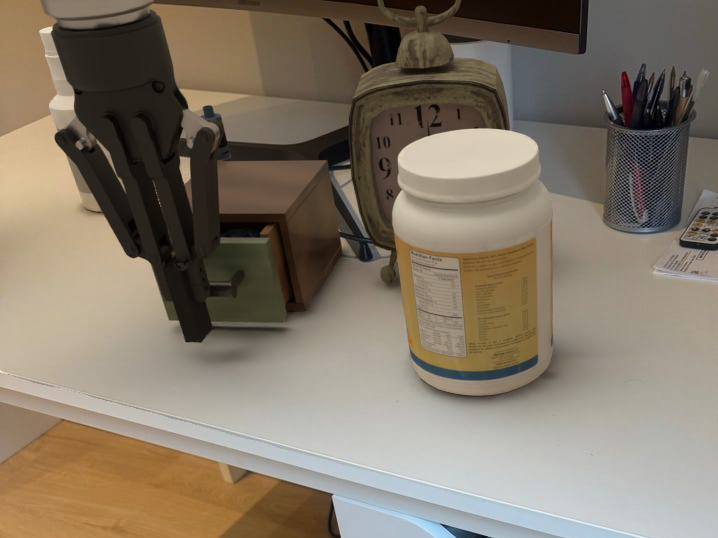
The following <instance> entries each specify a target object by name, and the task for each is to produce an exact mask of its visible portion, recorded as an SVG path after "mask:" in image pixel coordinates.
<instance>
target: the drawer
mask: <svg viewBox="0 0 718 538" xmlns="http://www.w3.org/2000/svg"><path fill="white" fill-rule="evenodd" d="M236 228H253V229H256V230H258V231H259V232H260V238H220V244H219V246H218V247H217V248H216V249H215V250H214V251H213V253H212V254H211V255H210V256H209V257H208V258H206V259H203V263H204V267H205V270H206V274H207V278H208V281H209V285H210V288H211V290H210V295H209V296H208V298H207V299H206V300H205V302H206V305H207V309H208V312H209V316H210V319H211V322H214V323H215V322H216V323H217V322H219V323H220V322H221V323H222V322H226V323H267V324H269V323H270V324H271V323H274V324H283V323H285V322H286V320H287V319H288V313H287V312H288V311H286V308H285V305H286V304H287V302H288V301H289V299H290V298H291V296H292V295H293V293H294V291H293V286H292V281H291V277H290V272H289V267H288V263H287V258H286V253H285V249H284V244H283V239H282V235H281V230H280V225H279V222H220V235H221V234H222V233H224V232H226V231H228V230H231V229H236ZM167 230H168V229H167ZM168 233H169V232H168ZM169 236H170V235H169ZM170 240H171V238H170ZM171 243H172V241H171ZM171 254H172V257H173V256H174V255H175V251H173V252H172V253H171ZM150 267H151V269H152V272H153V275H154V278H155V281H156V282H155V283H156V285H157V288H158V291H159V294H160V298H161V300H162V302H163V307H164V310H165V313H166V316H167V319H168V321H170V322H179V320H178V317H177V314H176V310H175V307H174V304H173V301H166V300H165V299H164V297H163V296H162V293H161V290H160V287H159V284H158V281H157V278H156V274H155V271H154V268H153V266H152V265H151V264H150Z"/></svg>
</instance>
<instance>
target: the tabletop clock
mask: <svg viewBox="0 0 718 538" xmlns="http://www.w3.org/2000/svg"><path fill="white" fill-rule="evenodd" d="M461 3H462V0H455V2H454V5H452V6H451V7H450V8H448V10H446V11H444V12H441V13H439V14H437V15H431V16H428V10H427V8H426V7H425V6H424V5H417V6H416V7H415V9H414V17H406V16H401V15H398V14H395V13H393V12H391V11H390V10H388V9H387V8H386V6H385V3H384V0H377V4H378V8H379V10H380V12H381V13H382V15H383V16H384V17H385V18H386V19H388V20H389V21H390V22H391V23H393V24H395V25H399V26H401V27H404V28H413V29H415V30H414V31H412V32H409V33H407V34H406V35H404V37H403V39H402V40H401V42H400V44H399V46H398V49H397V53H396V58H395V61H394V62H390V63H384V64H381V65H378V66H375V67H372V69H369V70H368V71H367V72H364V73H363V74H361V76H360V79H359V82H358V84H357V86H356V90H355V93H354V95H353V97H352V101H351V106H350V109H349V110H350V111H349V115H348V126H347V127H348V130H347V132H348V133H347V135H348V136H347V140H348V154H349V164H350V166H349V167H350V176H351V182H352V187H353V191H354V195H355V199H356V203H357V204H356V205H357V209H358V212H359V216H360V219H361V223H362V225H363V227H364V230H365V233H366V234H367V236H368V238H369V240H370V242H371V243H372V245H373V246H374V247H377V248H380V249H381V250H385V251H389V252H390V256H389V262H388V264H386V265H384V266H382V268H381V269H380V272H379V277H380V278H381V280H382V281H383V283H387V284H390V283H393V282H395V280H396V278H397V270H396V268H395V264H396V263H397V261H398V259H397V251H396V244H395V236H394V229H393V225H392V211H393V206H394V203H395V200H396V198H397V196H398V195H399V193H400V192H401V190H402V189H401V188H400V186H399V184H398V174H399V169H398V155H399V153H400V152H401V151H402V150H403V149H404V148H405V147H406V146H408V145H409V144H411V143H413V142H415V141H417V140H419V139H422V138H424V137H428V136H431V135H434V134H439V133H443V132H449V131H455V130H463V129H500V130H508V131H511V126H510V114H509V105H508V99H507V94H506V90H505V86H504V82H503V80H502V78H501V75H500V72H499V70H498V67H497V66H496V65H494V64H491V63H489V62H488V61H487V62H486V61H484V60H481V59H478V58H477V59H476V58H471V57H455V54H454V51H453V49H452V46H451V44H450V42H449V41H448V39H447V38H446V37H445V35H443V33H441V32H439V31H436V30H433V29H429V28H430V27H434V26H438V25H440V24H443V23H445V22H446V21H448V20H451V19H452V18H453V16H454V15H455V14H456V13H457V11H459V8H460V6H461Z"/></svg>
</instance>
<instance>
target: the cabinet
mask: <svg viewBox="0 0 718 538" xmlns="http://www.w3.org/2000/svg"><path fill="white" fill-rule="evenodd" d="M217 166H218V192H219V218H220V222H279V225H280V230H281V235H282V239H283V244H284V249H285V253H286V258H287V263H288V267H289V272H290V277H291V281H292V286H293V291H294V293H293V295H292V296H291V298H290V299H289V301H288V302H287V304H286V305H285V308H286V312H306V311H307V309H308V308H309V306H310V305H311V304H312V302H313V300H314V298H315V296H316V295H317V293H318V292H319V290H320V288H321V287H322V285H323V284H324V282H326V279H327V278H328V276H329V274H330V273H331V272H332V270H333V268H334V267H335V266H336V263H337V262H338V260H339V259H340V257H341V255H342V254H343V246H342V241H341V240H342V239H341V233H340V227H339V222H338V221H339V220H338V215H337V210H336V203H335V199H334V192H333V187H332V180H331V174H330V169H329V161H328V160H327V159H325V160H323V159H319V160H318V159H317V160H311V159H309V160H305V159H304V160H232V161H217ZM184 185H185V189H186V192H187V196H188V199H189V203H190V207H191V210H192V214H193V209H192V192H191V178H189V179H188V180H187V182H184ZM161 210H162V208H161ZM162 213H163V212H162ZM163 216H164V215H163ZM164 220H165V218H164ZM165 223H166V222H165ZM166 226H167V225H166ZM167 229H168V228H167Z"/></svg>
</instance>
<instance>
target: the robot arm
mask: <svg viewBox="0 0 718 538" xmlns="http://www.w3.org/2000/svg"><path fill="white" fill-rule="evenodd" d="M39 1H40V4H41V7H42V10H43V14H44V15H46V16H47V17H49V18H50V19H52V20H55V21H56V22H55V23H54V24H53V27H52V29H53V30H52V31H51V35H52V38H53V41H54V44H55V47H56V50H57V53H58V56H59V59H60V62H61V65H62V68H63V71H64V74H65V77H66V80H67V81H68V83H69V84H70V85H71V86H72V88H73V90H74V97H75V98H74V111H75V114H76V117H75V118H74V119H73V120H72V121H71V122H70V123H69V125H67V126H66V127H64V128H63V129H61V130H60V131H56V132H55V133H54V137H53V138H54V142H55V144H56V145H57V146H58V147H59V148H60V150H62V152H63V153H64V154H65V156H66V155H67V156H68V157H69V158H70V159H71V160H72V161H73V162H74V163H75V164H76V166H77V168H78V169H79V171H80V173H81V175H82V177H83V178H84V180H85V182H86V184H87V186H88V187H89V189H90V191H91V193H92V194H93V196H94V198H95V200H96V202H97V203H98V205H99V207H100V209H101V211H102V212H101V213H102V214H103V216H104V218H105V219H106V221H107V223H108V226H109V227H110V229H111V230H112V232H113V234H114V236H115V237H116V240H117V241H118V244H120V247H121V248H122V251H123V252H124V253H125V255H126V256H127V257H129V258H131V259H136V258H140V259H142V260H145V261H147V262H148V263H149V264H150V266H151V265H152V266H153V268H154V271H155V274H156V278H157V281H158V284H159V287H160V290H161V293H162V296H163V297H164V299H165V300H166V301H173V304H174V307H175V310H176V314H177V317H178V320H179V321H178V323H179V326H180V329H181V332H182V335H183V338H184V342H185V343H193V344H195V343H197V344H202V343H203V341H204V340H205V339H206V338H207V337H208V335H209V334H210V333H211V332H212V330H213V329H214V326H213V323H212V321H211V319H210V316H209V312H208V309H207V305H206V302H205V300H206V299H207V298H208V296H209V295H210V290H211V288H210V285H209V281H208V278H207V274H206V270H205V267H204V263H203V259H206V258H208V257H209V256H210V255H211V254H212V253H213V251H214V250H215V249H216V248H217V247H218V246H219V244H220V218H219V192H218V166H217V151H218V148H219V145H220V142H221V139H222V136H223V133H224V130H225V127H224V128H223V126H224V124H223V125H222V124H221V122H219V121H218V120H216V119H212V120H211V121H209V122H208V121H206V120H205V119H203V118H201V117H200V116H201V115H199V114H197V113H196V112H194V111H192V110H191V109H189V103H188V101H187V98H186V97H185V95H184V93H182V91H181V89H180V88H179V86H178V84H177V82H176V76H175V70H174V63H173V59H172V55H171V52H170V48H169V44H168V41H167V40H168V39H167V36H166V33H165V29H164V25H163V22H162V17H161V16H160V15H158V14H157V12H156V11H155V10H153V9H151V8H150V6H152V5H153V3H154V2H155V0H39ZM183 130H184V131H183ZM183 132H185V140H186V141H185V142H186V146H187V148H189V149H190V150H191V151H190V157H189V173H190V179H191V192H192V209H193V214H192V210H191V207H190V203H189V199H188V196H187V192H186V189H185V185H184V184H185V181H184V179H183V175H182V171H181V156H180V153H179V149H178V145H179V143H180V140H181V137H182V134H183ZM96 139H97V140H98V141H99V142H100V143H101V144H102V145H103V146H104V147H105V149H106V150H107V151H108V152H109V153H110V156H111V159H112V162H113V165H114V168H115V171H116V174H117V176H118V177H119V178H120V179H121V180H122V182H123V185H124V188H125V191H126V193H125V191H124V189H123V187H122V185H121V183H120V181H119V179H118V178H117V176H116V174H115V172H114V170H113V168H112V166H111V165H110V163H109V161H108V159H107V157H106V155H105V154H104V152H103V150H102V149H101V147H100V146H99V145H98V143H97V140H96ZM161 208H162V210H161ZM162 212H163V213H162ZM163 215H164V216H163ZM164 218H165V220H164ZM165 222H166V223H165ZM166 225H167V226H166ZM167 228H168V230H167ZM168 232H169V233H168ZM169 235H170V236H169ZM170 238H171V240H170ZM171 241H172V243H171ZM173 251H175V255H174V256H173V257H172V254H171V253H172V252H173ZM152 266H151V267H152Z"/></svg>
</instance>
